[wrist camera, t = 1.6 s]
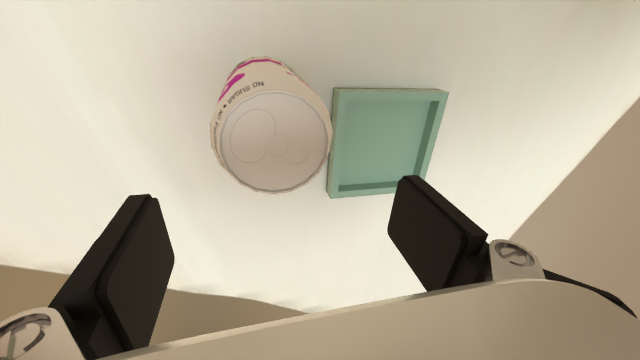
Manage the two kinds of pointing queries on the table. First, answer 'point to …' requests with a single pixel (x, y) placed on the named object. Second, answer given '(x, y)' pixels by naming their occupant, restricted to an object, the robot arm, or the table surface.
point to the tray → (381, 138)
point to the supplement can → (270, 127)
